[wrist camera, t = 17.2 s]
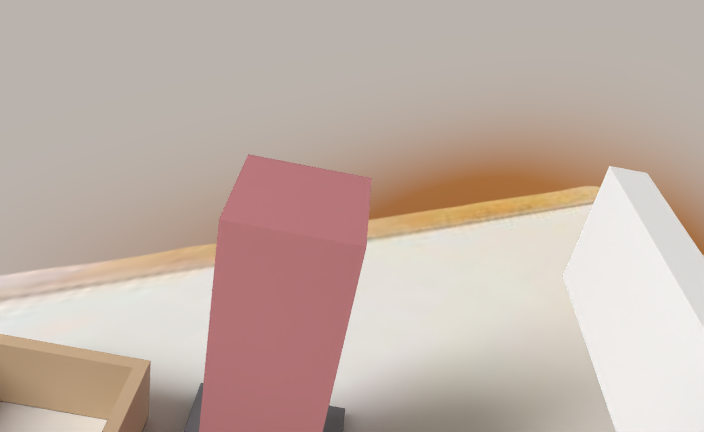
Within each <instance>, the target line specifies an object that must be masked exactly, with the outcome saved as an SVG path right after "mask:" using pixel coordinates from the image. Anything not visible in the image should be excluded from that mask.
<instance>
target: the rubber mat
mask: <svg viewBox="0 0 704 432" xmlns="http://www.w3.org/2000/svg"><path fill="white" fill-rule="evenodd" d="M203 384H204V383H201V384H200V387H199V390H198V393H197V395H196V398H195V401H194V404H193V407H192V410H191V413H190V415H189V418H188V421H187V424H186V427H185V430H184V432H199V427H200V416H201V405H202V395H203ZM344 414H345V409H344V408H338V407H333V406H329V407H328V411H327V415H326V419H325V424H324V428H323V432H343V424H344Z"/></svg>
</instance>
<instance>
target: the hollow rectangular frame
mask: <svg viewBox="0 0 704 432" xmlns="http://www.w3.org/2000/svg"><path fill="white" fill-rule="evenodd" d="M149 386H150V361H148V360H143V359H137V358H131V357H126V356H120V355H115V354H109V353H104V352H98V351H92V350H87V349H81V348H76V347H70V346H64V345H59V344H53V343H48V342H42V341H37V340H31V339H25V338H20V337H14V336H9V335H3V334H0V401H4V402H9V403H15V404H21V405H27V406H32V407H38V408H44V409H49V410H55V411H61V412H67V413H72V414H78V415H84V416H89V417H95V418H101V419H107V422H106V425H105V427H104V429H103V431H102V432H142V431H143V428H144V426H145V423H146V421H147V419H148V413H149Z"/></svg>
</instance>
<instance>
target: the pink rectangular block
mask: <svg viewBox="0 0 704 432" xmlns="http://www.w3.org/2000/svg"><path fill="white" fill-rule="evenodd" d="M370 192H371V178H368V177H363V176H357V175H352V174H347V173H342V172H337V171H332V170H326V169H321V168H316V167H311V166H306V165H301V164H295V163H290V162H285V161H280V160H275V159H269V158H264V157H259V156H254V155H248V156H247V158H246V161H245V163H244V165H243V167H242V170H241V172H240V174H239V176H238V179H237V181H236V183H235V185H234V187H233V190H232V192H231V194H230V196H229V199H228V201H227V203H226V205H225V207H224V210H223V212H222V214H221V216H220V219H219V226H218V237H217V247H216V258H215V269H214V279H213V290H212V300H211V311H210V321H209V332H208V342H207V353H206V363H205V374H204V384H203V395H202V405H201V416H200V427H199V432H323V428H324V424H325V419H326V415H327V411H328V407H329V402H330V398H331V394H332V390H333V386H334V381H335V377H336V373H337V369H338V364H339V360H340V356H341V352H342V348H343V343H344V339H345V335H346V331H347V326H348V322H349V318H350V314H351V309H352V305H353V301H354V297H355V293H356V288H357V284H358V280H359V276H360V271H361V267H362V263H363V259H364V254H365V250H366V244H367V231H368V217H369V205H370Z"/></svg>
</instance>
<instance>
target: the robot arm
mask: <svg viewBox="0 0 704 432" xmlns="http://www.w3.org/2000/svg"><path fill="white" fill-rule="evenodd" d="M563 279H564V282H565V285H566V288H567V291H568V293H569V296H570V299H571V302H572V305H573V308H574V311H575V314H576V317H577V320H578V323H579V326H580V328H581V331H582V334H583V337H584V340H585V343H586V346H587V349H588V352H589V355H590V358H591V361H592V363H593V366H594V369H595V372H596V375H597V378H598V381H599V384H600V387H601V390H602V393H603V396H604V398H605V401H606V404H607V407H608V410H609V413H610V416H611V419H612V422H613V425H614V428H615V431H616V432H704V257H703V255H702V254H701V252H700V251H699V250H698V248H697V246H696V245H695V244H694V242H693V241H692V239H691V238H690V236H689V235H688V233H687V232H686V230H685V229H684V227H683V226H682V224H681V223H680V221H679V220H678V219H677V217H676V215H675V214H674V212H673V211H672V209H671V208H670V206H669V205H668V204H667V202H666V200H665V199H664V198H663V196H662V195H661V193H660V192H659V190H658V189H657V187H656V186H655V184H654V183H653V181H652V180H651V178H650V177H649V175H648V174H647V173H643V172H638V171H633V170H628V169H622V168H617V167H611V166H610V167H609V169H608V171H607V174H606V176H605V178H604V181H603V183H602V185H601V188H600V190H599V192H598V195H597V197H596V199H595V202H594V204H593V206H592V209H591V211H590V213H589V216H588V218H587V220H586V223H585V225H584V227H583V230H582V232H581V234H580V237H579V239H578V241H577V244H576V246H575V248H574V251H573V253H572V255H571V258H570V260H569V262H568V265H567V267H566V269H565V272H564V274H563Z"/></svg>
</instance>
